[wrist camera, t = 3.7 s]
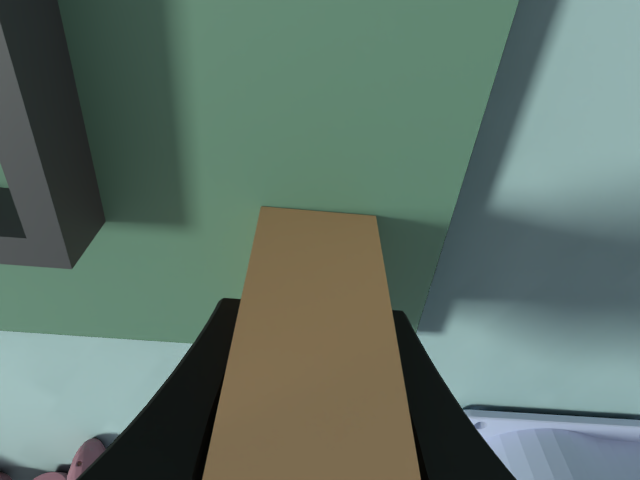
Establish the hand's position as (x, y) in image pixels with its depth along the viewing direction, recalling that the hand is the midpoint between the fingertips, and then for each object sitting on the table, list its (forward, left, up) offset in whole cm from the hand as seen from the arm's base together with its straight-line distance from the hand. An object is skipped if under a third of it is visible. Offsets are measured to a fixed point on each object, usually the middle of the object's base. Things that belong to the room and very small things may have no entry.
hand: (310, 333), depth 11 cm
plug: (0, 0, -2) cm, 2 cm away
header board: (+5, -3, -4) cm, 6 cm away
